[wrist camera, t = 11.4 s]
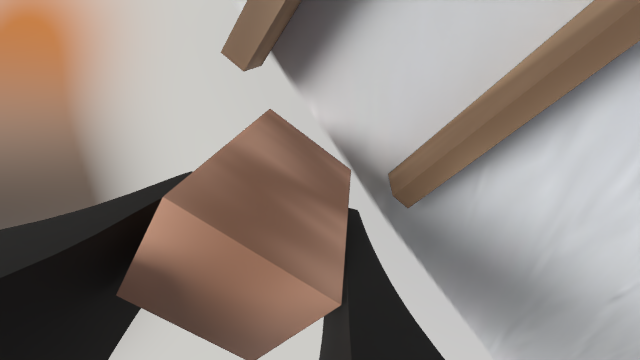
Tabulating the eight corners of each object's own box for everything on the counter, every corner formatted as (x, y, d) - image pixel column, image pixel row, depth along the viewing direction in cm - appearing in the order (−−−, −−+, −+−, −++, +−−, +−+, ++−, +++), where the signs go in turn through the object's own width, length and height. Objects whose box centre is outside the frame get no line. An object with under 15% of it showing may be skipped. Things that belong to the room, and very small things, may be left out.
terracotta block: (351, 170, 10) (341, 305, 5) (297, 224, 12) (251, 362, 7) (269, 108, 9) (162, 196, 4) (226, 177, 11) (116, 295, 6)
